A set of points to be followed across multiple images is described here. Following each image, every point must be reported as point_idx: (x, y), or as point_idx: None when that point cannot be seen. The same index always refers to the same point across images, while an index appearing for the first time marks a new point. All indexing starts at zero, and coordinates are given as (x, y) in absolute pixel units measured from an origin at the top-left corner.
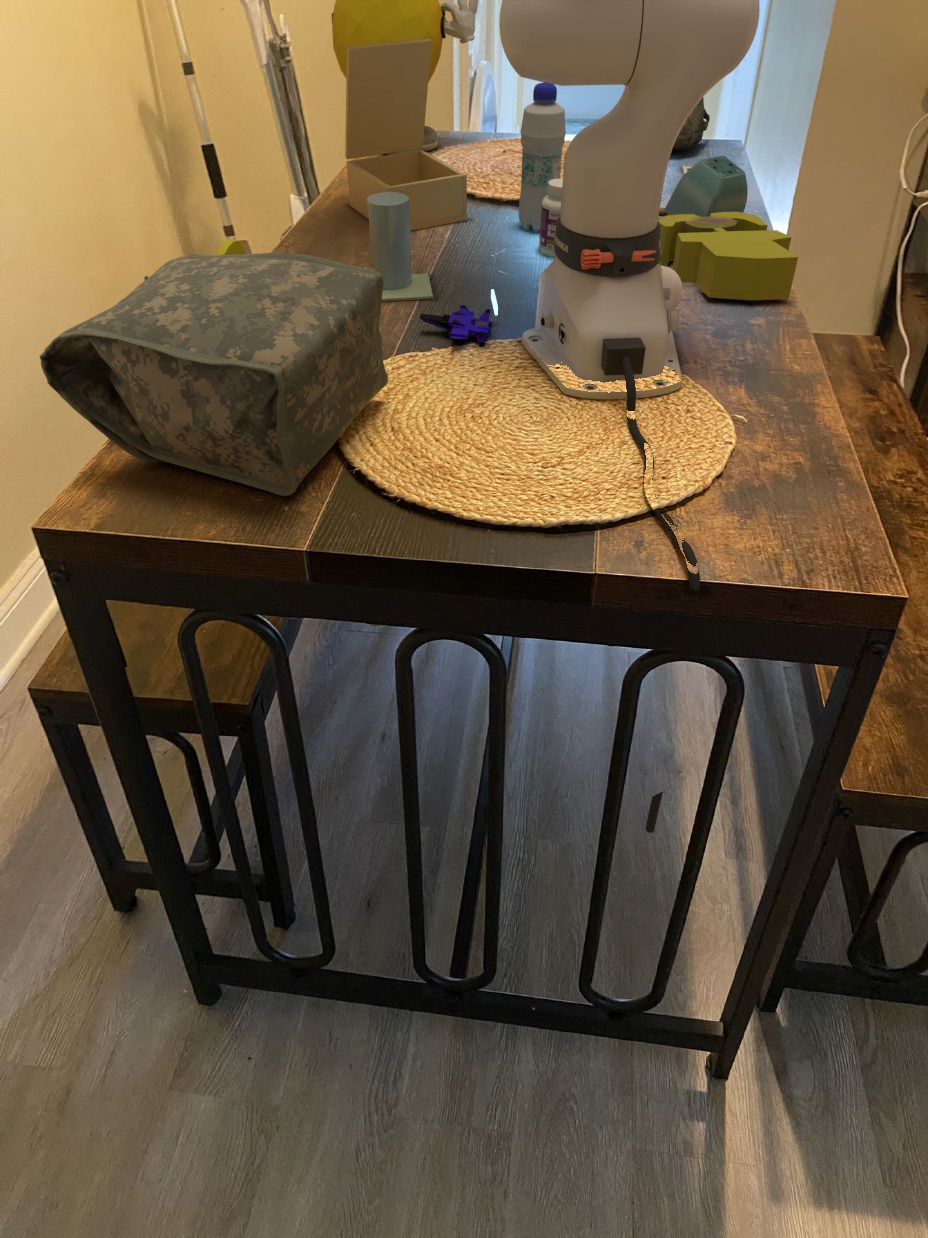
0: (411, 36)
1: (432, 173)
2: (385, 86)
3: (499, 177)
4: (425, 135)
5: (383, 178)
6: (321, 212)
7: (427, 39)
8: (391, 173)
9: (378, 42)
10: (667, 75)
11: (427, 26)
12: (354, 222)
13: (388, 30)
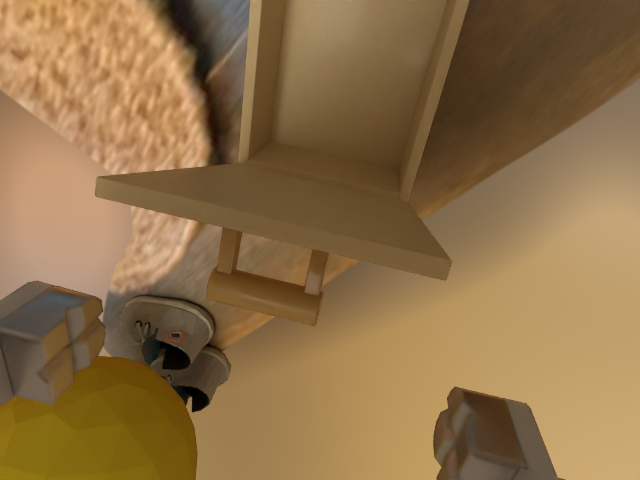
0: (59, 433)
1: (263, 94)
2: (308, 201)
3: (108, 122)
4: (142, 312)
5: (338, 165)
6: (467, 181)
7: (108, 191)
8: (320, 164)
9: (126, 466)
10: None
11: (9, 431)
12: (462, 94)
13: (94, 474)
